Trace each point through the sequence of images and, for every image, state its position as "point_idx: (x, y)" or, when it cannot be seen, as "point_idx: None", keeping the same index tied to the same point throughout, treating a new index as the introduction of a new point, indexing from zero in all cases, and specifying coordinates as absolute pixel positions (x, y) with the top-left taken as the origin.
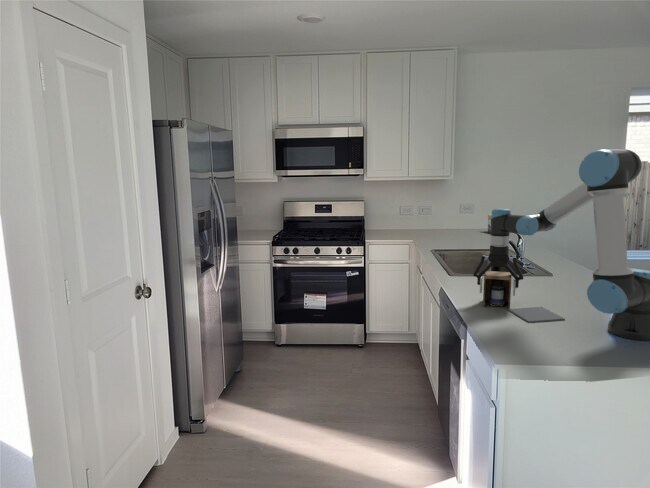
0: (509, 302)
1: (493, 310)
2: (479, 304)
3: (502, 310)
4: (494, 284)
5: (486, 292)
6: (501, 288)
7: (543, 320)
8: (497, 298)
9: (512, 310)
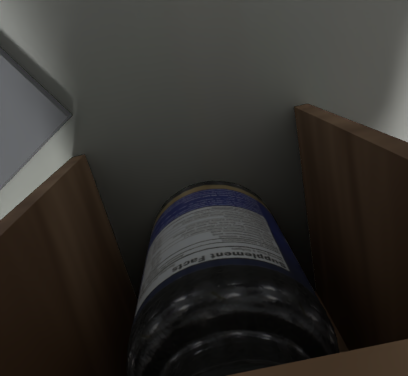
0: (54, 177)
1: (190, 40)
2: None
3: (116, 87)
4: (279, 354)
5: (341, 342)
6: (152, 314)
7: None
8: (196, 213)
9: (14, 90)
